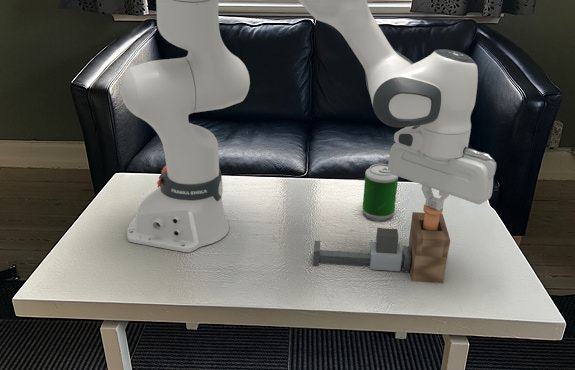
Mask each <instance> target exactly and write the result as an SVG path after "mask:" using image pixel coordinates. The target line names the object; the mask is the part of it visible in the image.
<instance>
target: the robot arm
mask: <svg viewBox="0 0 575 370" xmlns="http://www.w3.org/2000/svg"><path fill="white" fill-rule="evenodd" d="M219 1H220V0H156V3H155V4H156V25H157V29H158V32H159V34H160V36H162V37H163V39H165V40H166V41H167V42H168V43H170V44H172V45H174V46H176V47H178V48H180V49H183V50H184V51H187V55H186V56H183V57H177V58H169V59H167V58H166V59H157V60H150V61H146V62H142V63H139V64H137V65H133V66H131V67H130V66H129V67H128V68H127V69H126V71H125V72H124V74H123V76H122V78H121V81H120V96H121V100H122V102H123V103H124V105H125V107H126V108H127V110H128V111H129V112H130V113H131V114H133V115H134V116H135V117H136V118H139V119H141V120H142V121H144V122H146V123H147V124H148V125H149V126H150V127H151V128H152V129H153V130H154V131H155V132H156V134H157V135H158V137H159V139H160V140H161V144H162V148H163V153H164V159H165V166H164V167H163V168H162V169H161V174H160V175H159V177H158V181H157V182H156V184H157V189H155V190H154V191H153V192H151V193H149V194H148V195H147V196H146V197H145V198H144V199H143V200H142V201H141V203H140V205H139V206H138V209H137V212H136V215H135V216H134V218H133V219H132V220H130V223H129V225H128V226H127V230H126V239H127V241H128V242H131V243H134V244H139V245H145V246H151V247H156V248H161V249H166V250H170V251H171V250H172V251H177V252H181V253H182V252H183V253H193V252H194V251H196V250H197V249H199V248H201V247H204V246H208V245H211V244H214V243H216V242H218V241H220V240H222V239H224V238H225V236H226V235H227V234H228V232H229V230H230V224H229V222H228V219H227V217H226V214H225V208H224V204H223V198H222V196H223V190H224V187H223V178H222V171H221V169H220V164H219V163H220V161H219V159H220V158H219V143H218V139H217V137H216V136H215V135H214V133H213V132H211V131H210V130H209V129H207V128H205V127H203V126H200V125H197V124H193V123H191V122H190V121H189V115H191V114H193V113H200V112H207V111H215V110H222V109H225V108H228V107H231V106H233V105H236V104H240V103H242V102H243V101H244V100H245V98H247V95H248V92H249V90H250V85H251V81H250V80H251V79H250V74H249V71H248V68H247V67H246V65H245V63H244V62H243V61H242V60H241V59H240V57H238V56H236V55H235V54H233V53H232V52H231V51H230V50H229V49H228V48H227V46H226V45H225V43H224V41H223V39H222V36H221V32H220V21H219V6H220V5H219ZM298 2H299V3H300V4H301V5H302V7H303V8H305V10H306V11H307V12H308V13H309V14H310V15H311V16H312V17H313V18H314V19H315V20H317V21H318V22H322V23H324V24H327V25H330V26H332V27H333V28H335V30H337V31H338V32H339V33H340V34H341V35H342V36H343V38H344V40H345V41H346V42H347V44H348V46H349V47H350V48H351V51H352V52H353V53H354V55H355V56H356V58H357V59H358V61H359V63H360V64H361V65H362V68H363V70H364V75H365V83H366V88H367V91H368V94H369V96H370V100H371V104H372V108H373V111H374V114H375V115H376V117H377V118H378V119H379V121H380V122H382V123H383V124H384V125H386V126H389V127H393V128H401V129H399V130H398V131H396V132H395V133H394V134H393V142H395V143H393V144H392V145H391V148H390V152H389V157H388V163H387V165H388V169H389V171H390V173H391V174H393V175H396V176H398V178H399V177H400V178H402V179H406V180H408V181H411V182H414V183H416V184H418V185H421V191H422V194H423V195H424V196H423V197H424V198H425V203H424V205H425V206H427V207H429V208H432V209H435V210H438V211H440V210H441V209H442V208H443V209H444V202H445V200H447V199H448V197H450V196H453V197H455V198H459V199H461V200H464V201H468V202H470V203H473V204H476V205H482V204H484V203H486V202H488V201H489V200H490V199H491V197H492V194H493V188H494V177H495V174H496V170H497V162H496V161H495V159H494V158H493V157H491V155H490V154H489V153H486V152H481V151H478V150H476V149H474V148H470V147H469V143H470V137H471V136H470V135H471V131H472V130H471V129H472V122H471V116H472V113H473V110H474V107H475V105H476V101H477V100H476V99H477V91H478V82H479V80H478V77H479V73H478V72H479V71H478V65H477V64H476V61H475V60H473V58H471V57H470V56H469V55H467V54H465V53H463V52H460V51H456V50H451V49H448V48H447V49H445V48H444V49H435V50H434V51H433V52H432V53H431V54H430V55H428V56H427V57H424V58H423V59H421V60H419V61H417V62H413V61H412V60H410V59H409V58H407V57H406V56H404V54H401V53H400V52H398V51H397V50H396V49H395V48H394V47H393V46H392V45H391V44H390V42H389V41H388V39H387V37H386V36H385V34H384V32H383V31H382V29H381V28H380V26H379V24H378V23H377V20H376V19H375V18H374V16H373V14H372V12H371V10H370V7H369V4H368V0H298ZM433 190H436V191H438V196H440V198H438V197H435V196H434V193H433Z"/></svg>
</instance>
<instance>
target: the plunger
mask: <svg viewBox="0 0 575 370" xmlns="http://www.w3.org/2000/svg"><path fill="white" fill-rule="evenodd" d="M443 209H444V207H443V208H442V209H441V210H440V211H438V210H435V209H432V208H429V207H427V206H425V204H423V210H422V211H423V213H425V217H424V224H423V230H428V231H437V230H438V223H439V216H440V214H443V211H444V210H443Z"/></svg>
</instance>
